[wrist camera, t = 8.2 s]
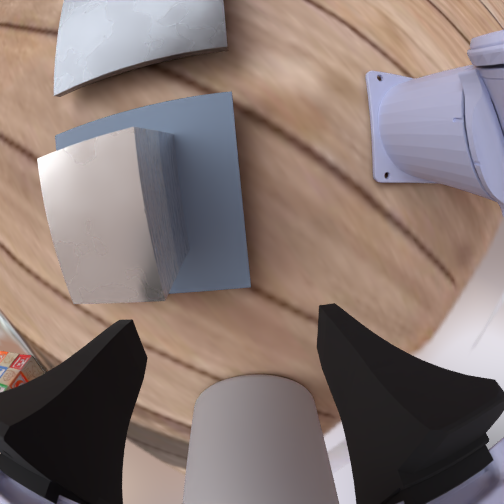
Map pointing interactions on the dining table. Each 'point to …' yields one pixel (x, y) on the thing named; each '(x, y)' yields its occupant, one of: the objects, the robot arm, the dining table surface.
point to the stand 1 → (132, 36)
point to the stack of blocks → (17, 370)
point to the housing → (116, 216)
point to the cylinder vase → (257, 445)
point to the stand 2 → (196, 183)
